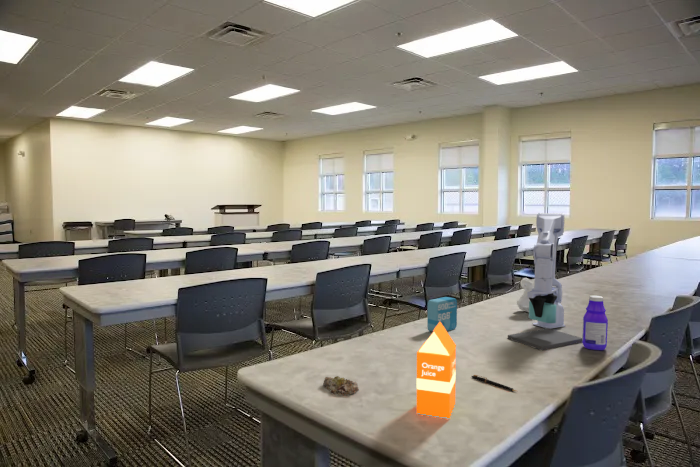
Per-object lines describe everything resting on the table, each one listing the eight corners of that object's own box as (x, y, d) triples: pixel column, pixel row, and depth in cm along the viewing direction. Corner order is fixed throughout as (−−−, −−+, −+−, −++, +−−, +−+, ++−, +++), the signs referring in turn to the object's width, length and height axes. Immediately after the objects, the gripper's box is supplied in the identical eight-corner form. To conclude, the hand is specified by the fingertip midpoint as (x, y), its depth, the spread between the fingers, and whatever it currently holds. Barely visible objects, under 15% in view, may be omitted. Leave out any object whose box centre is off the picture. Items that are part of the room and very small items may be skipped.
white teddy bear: (530, 309, 212) (531, 276, 211) (548, 314, 202) (549, 280, 201) (512, 310, 209) (513, 277, 208) (529, 316, 198) (530, 281, 198)
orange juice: (415, 414, 108) (416, 328, 107) (424, 399, 116) (424, 319, 115) (450, 419, 105) (451, 332, 104) (456, 404, 113) (456, 322, 112)
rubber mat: (547, 331, 176) (548, 328, 176) (583, 341, 162) (583, 338, 162) (507, 338, 167) (507, 335, 167) (541, 350, 154) (541, 346, 154)
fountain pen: (519, 393, 120) (520, 388, 120) (517, 395, 119) (517, 389, 119) (472, 378, 131) (472, 372, 131) (469, 379, 130) (469, 373, 130)
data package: (436, 334, 173) (436, 302, 172) (427, 331, 177) (427, 300, 176) (457, 328, 181) (457, 297, 180) (447, 326, 184) (447, 296, 183)
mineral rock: (367, 380, 124) (348, 381, 117) (365, 397, 123) (346, 399, 117) (335, 372, 130) (316, 373, 124) (333, 388, 129) (314, 390, 123)
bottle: (605, 346, 157) (606, 295, 156) (608, 352, 151) (610, 298, 150) (581, 344, 159) (582, 294, 158) (583, 349, 154) (584, 297, 153)
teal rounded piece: (527, 315, 173) (528, 299, 172) (558, 322, 162) (558, 305, 162) (520, 316, 170) (521, 300, 170) (551, 323, 160) (551, 306, 160)
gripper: (546, 274, 171) (545, 311, 172) (520, 277, 164) (519, 316, 165) (563, 276, 165) (563, 314, 166) (537, 280, 158) (537, 320, 159)
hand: (542, 315), depth 165 cm, fingers closed on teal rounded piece, 4 cm apart
